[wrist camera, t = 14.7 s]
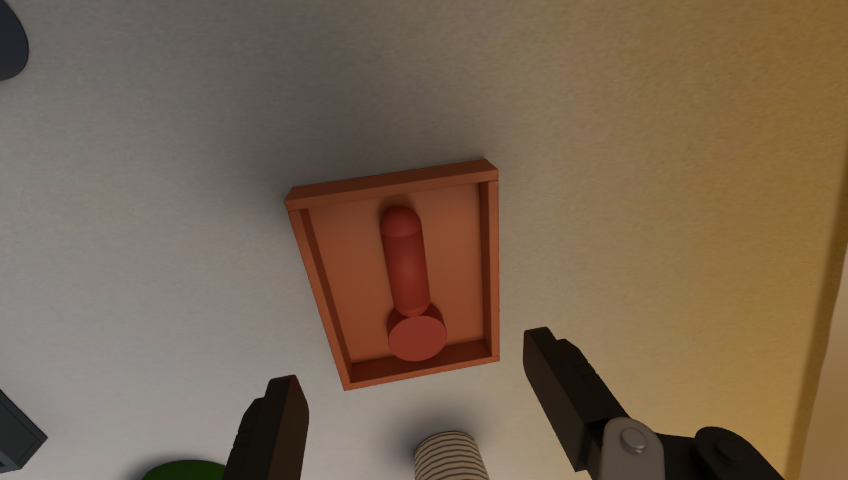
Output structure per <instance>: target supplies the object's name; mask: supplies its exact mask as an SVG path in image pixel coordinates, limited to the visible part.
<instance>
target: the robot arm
mask: <svg viewBox="0 0 848 480" xmlns="http://www.w3.org/2000/svg"><path fill="white" fill-rule="evenodd" d="M523 366H524V370H525V373H526V376H527V378H528V380H529V382H530V384H531V386H532V388H533V390H534V392H535V394H536V396H537V398H538V400H539V402H540V404H541V406H542V408H543V410H544V412H545V414H546V416H547V418H548V420H549V422H550V424H551V425H552V427H553V429H554V431H555V433H556V435H557V437H558V439H559V441H560V443H561V445H562V447H563V449H564V451H565V453H566V455H567V457H568V459H569V461H570V463H571V465H572V467H573V469H574V471H575V472H578V471H583V470H587V471H588V473H589V475H590V476H591V478H592V480H784V479H783V477H782V476H781V475H780V474H779V473H778V472H777V471H776V470H775V469H774V468H773V467H772V466H771V465H770V464H769V463H768V461H767V460H766V459H765V458H764V457H763V456H762V455H761V454H760V453H759V452H758V451H757V450H756V449H755V448H754V447H753V446H752V445H751V444H750V443H749V442H748V441H746V440H745V439H744V438H742V437H741V436H739V435H737V434H736V433H734V432H731V431H729V430H726V429H723V428H719V427H712V426H710V427H704V428H701V429H700V430H699V431H698V432H697V433H696V435H695V438H691V437H682V436H673V435H665V434H659V433H656V432H653V431H652V430H651V429H650V428H649V427H647V426H646V425H644V424H643V423H641V422H639V421H637V420H634V419H632V418H631V417H630V416H629V415H628V414H627V413H626V412H625V410H624V409H623V408H622V406H621V405H620V404H619V402H618V401H617V400H616V398H615V397H614V396H613V394H612V393H611V392H610V390H609V389H608V388H607V386H606V385H605V383H604V382H603V381H602V379H601V378H600V377H599V375H598V374H596V372H595V370H594V369H593V367H592V366H591V365H590V363H588V361H587V359H586V358H585V356H584V355H583V354H582V352H581V351H580V350H579V348H577V347H576V346H575V345H573V344H572V343H570V342H569V341H567V340H566V339H560V340H556V338H555V337H554V336H553V334H552V333H551V331H550V330H549V329H548V328H547V327H540V328H535V329H530V330H525V332H524V344H523ZM308 425H309V408H308V404H307V401H306V398H305V396H304V394H303V391H302V389H301V386H300V384H299V381H298V379H297V377H296V375H288V376H283V377H278V378H273V379H271V380H270V381H269V383H268V386H267V389H266V393H265V396H264V397H263V398H257V399H255V400H254V401H253V402H252V404H251V405H250V406H249V408H248V409H247V411H246V412H245V413H244V415H243V418H242V421H241V423H240V426H239V429H238V434H237V435H236V438H235V441H234V444H233V449H232V450H231V453H230V456H229V458H228V461H227V464H226V467H225V470H224V473H223V476H222V479H221V480H300V477H301V470H302V464H303V457H304V451H305V444H306V438H307V431H308Z"/></svg>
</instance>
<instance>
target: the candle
mask: <svg viewBox="0 0 848 480" xmlns="http://www.w3.org/2000/svg"><path fill="white" fill-rule="evenodd" d="M224 470H225V466H222V465H219V464H216V463H211V462H206V461H196V460H194V461H178V462H172V463H168V464H164V465H161V466H159V467H156V468H154V469H153V470H151V471H149V472H148V473H147V474H146V475H145V476H144V477H143V478H142V479H141V480H221V479H222V476H223V473H224Z"/></svg>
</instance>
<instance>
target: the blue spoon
mask: <svg viewBox="0 0 848 480" xmlns="http://www.w3.org/2000/svg"><path fill="white" fill-rule="evenodd" d="M27 56H28V47H27V41H26V37H25V34H24V31H23V29H22V27H21V25H20V23H19V22H18V20H17V18H16V17H15V15H14V14H13V13H12V11H11V10H10V9H9V8H8V6H7V5H6V4H5V3H4V2H3V1H2V0H0V81H2V80H7V79H10V78H12V77H14V76H15V75H17V74H18V73H19V72H20V71H21V70H22V69H23V67H24V65H25V63H26V60H27Z"/></svg>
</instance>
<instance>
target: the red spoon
mask: <svg viewBox="0 0 848 480" xmlns="http://www.w3.org/2000/svg"><path fill="white" fill-rule="evenodd" d="M380 234H381V240H382V245H383V250H384V256H385V261H386V267H387V272H388V277H389V283H390V288H391V294H392V299H393V303H394V306H395V308H396V309H395V310H394V311H393V312H392V314H391V315H390V317H389V319H388V322H387V334H388V345H389V348H390V350H391V351H392V353H393V354H394V355H396V356H397V357H399V358H400V359H403V360H406V361H422V360H426V359H429V358H431V357H433V356H435V355H436V354H437V353H439V352H440V351H441V350H442V348H443V347H444V345H445V343H446V340H447V330H446V327H445V323H444V320H443V317H442V314H441V312H440V311H439V309H438V308H437V307H435V306H434V305H432V304H430V289H429V281H428V272H427V264H426V256H425V248H424V239H423V231H422V224H421V220H420V218H419V216H418V214H417V213H416V212H415V211H414V210H412V209H411V208H408V207H405V206H396V207H393V208H391V209H389V210H388V211H387V212H385V213H384V215H383V216H382V218H381V221H380Z"/></svg>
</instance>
